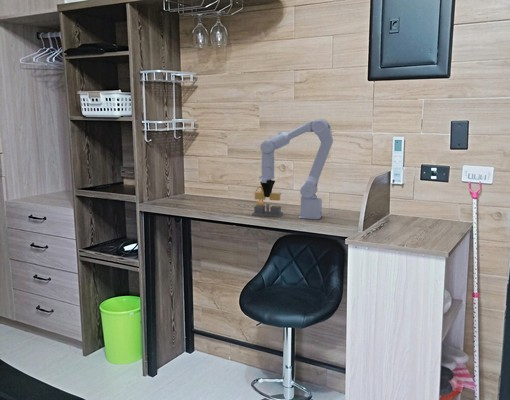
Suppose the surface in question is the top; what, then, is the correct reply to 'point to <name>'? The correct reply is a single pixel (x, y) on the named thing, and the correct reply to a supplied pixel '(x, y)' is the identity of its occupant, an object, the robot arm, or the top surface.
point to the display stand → (267, 211)
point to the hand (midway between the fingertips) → (267, 196)
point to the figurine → (260, 200)
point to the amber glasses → (272, 196)
